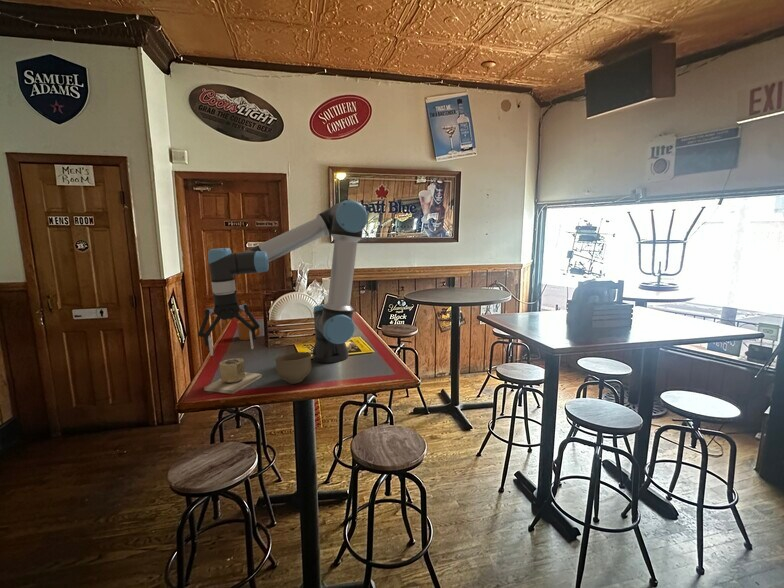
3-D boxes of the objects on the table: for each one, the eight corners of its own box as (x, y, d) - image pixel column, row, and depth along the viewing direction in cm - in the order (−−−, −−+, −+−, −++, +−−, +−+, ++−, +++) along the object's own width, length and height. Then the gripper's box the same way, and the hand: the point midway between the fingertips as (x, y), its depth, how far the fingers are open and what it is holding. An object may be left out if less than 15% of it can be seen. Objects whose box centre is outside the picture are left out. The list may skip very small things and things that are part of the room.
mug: (251, 341, 203) (249, 324, 202) (235, 339, 209) (233, 322, 208) (265, 336, 211) (263, 319, 209) (249, 334, 217) (247, 318, 215)
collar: (244, 372, 153) (243, 357, 152) (245, 379, 145) (243, 363, 144) (221, 376, 150) (219, 360, 149) (221, 383, 143) (219, 367, 142)
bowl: (310, 373, 156) (308, 348, 154) (315, 385, 144) (313, 357, 142) (276, 378, 152) (273, 352, 150) (278, 390, 140) (275, 362, 138)
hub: (261, 377, 154) (259, 356, 152) (232, 393, 139) (230, 370, 137) (235, 374, 158) (233, 353, 156) (204, 390, 143) (201, 368, 141)
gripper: (261, 287, 150) (267, 343, 154) (186, 295, 142) (194, 354, 145) (262, 290, 144) (269, 348, 147) (183, 298, 135) (193, 360, 138)
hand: (232, 351), depth 146 cm, fingers open, 13 cm apart
